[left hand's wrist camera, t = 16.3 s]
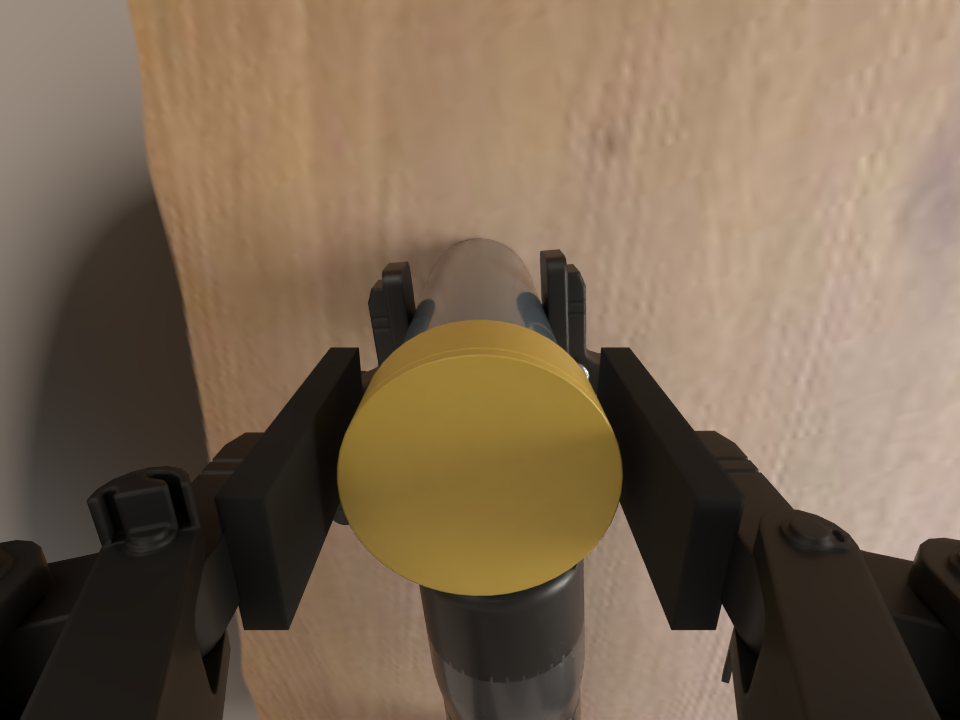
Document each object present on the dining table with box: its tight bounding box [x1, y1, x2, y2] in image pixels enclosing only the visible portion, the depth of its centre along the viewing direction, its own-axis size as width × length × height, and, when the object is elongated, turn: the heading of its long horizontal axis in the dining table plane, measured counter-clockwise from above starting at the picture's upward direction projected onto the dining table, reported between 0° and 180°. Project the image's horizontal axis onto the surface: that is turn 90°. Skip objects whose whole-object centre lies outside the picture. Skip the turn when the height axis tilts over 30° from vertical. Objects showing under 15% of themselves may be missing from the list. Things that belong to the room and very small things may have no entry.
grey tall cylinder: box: [402, 239, 559, 346], centre depth 18 cm, size 5×5×16 cm
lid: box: [337, 320, 623, 596], centre depth 11 cm, size 6×6×2 cm
